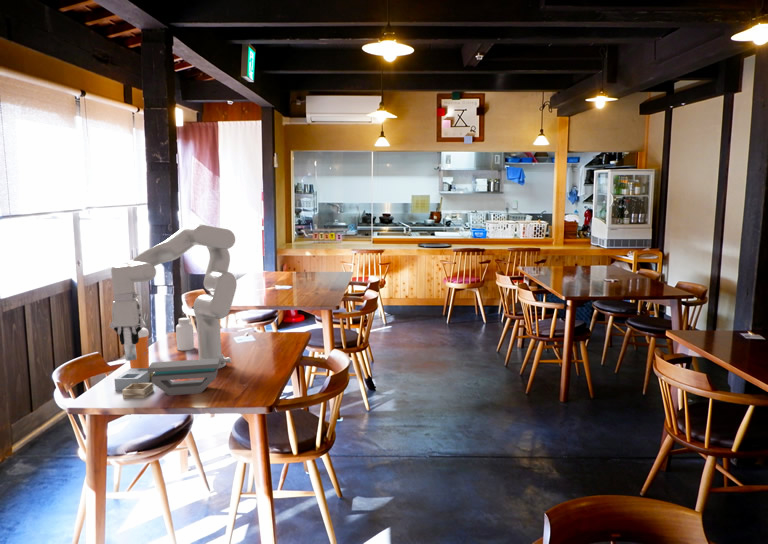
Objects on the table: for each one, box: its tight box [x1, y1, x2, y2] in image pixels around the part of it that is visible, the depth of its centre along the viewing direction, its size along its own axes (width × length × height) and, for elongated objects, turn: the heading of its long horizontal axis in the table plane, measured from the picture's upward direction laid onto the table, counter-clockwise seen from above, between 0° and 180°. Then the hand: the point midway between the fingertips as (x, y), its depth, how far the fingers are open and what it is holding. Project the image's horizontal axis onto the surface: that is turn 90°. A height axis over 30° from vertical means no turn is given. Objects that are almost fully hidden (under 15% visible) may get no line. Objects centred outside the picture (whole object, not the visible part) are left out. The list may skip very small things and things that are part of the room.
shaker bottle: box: [129, 324, 150, 369], centre depth 248 cm, size 9×9×20 cm
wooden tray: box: [121, 382, 154, 399], centre depth 221 cm, size 8×8×3 cm
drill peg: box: [122, 327, 137, 362], centre depth 227 cm, size 4×4×14 cm
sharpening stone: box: [148, 358, 220, 396], centre depth 223 cm, size 25×8×11 cm, turn 100°
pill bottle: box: [175, 317, 195, 352], centre depth 285 cm, size 8×8×15 cm
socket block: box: [114, 367, 154, 391], centre depth 232 cm, size 9×14×4 cm, turn 178°
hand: (129, 343), depth 228 cm, fingers closed on drill peg, 4 cm apart
